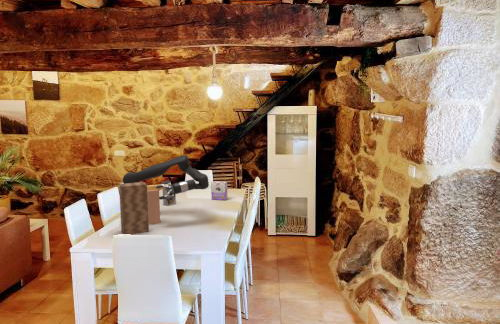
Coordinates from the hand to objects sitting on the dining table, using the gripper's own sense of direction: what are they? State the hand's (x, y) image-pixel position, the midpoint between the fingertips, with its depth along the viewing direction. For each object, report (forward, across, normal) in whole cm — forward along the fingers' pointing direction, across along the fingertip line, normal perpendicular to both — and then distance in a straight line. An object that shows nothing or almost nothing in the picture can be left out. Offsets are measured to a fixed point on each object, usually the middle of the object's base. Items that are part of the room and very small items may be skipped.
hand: (157, 192), depth 264 cm
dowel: (+2, -8, +8) cm, 11 cm away
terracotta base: (+8, +10, +23) cm, 26 cm away
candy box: (-54, -17, +72) cm, 92 cm away
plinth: (+20, +20, +8) cm, 29 cm away
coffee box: (-10, -20, +64) cm, 68 cm away
